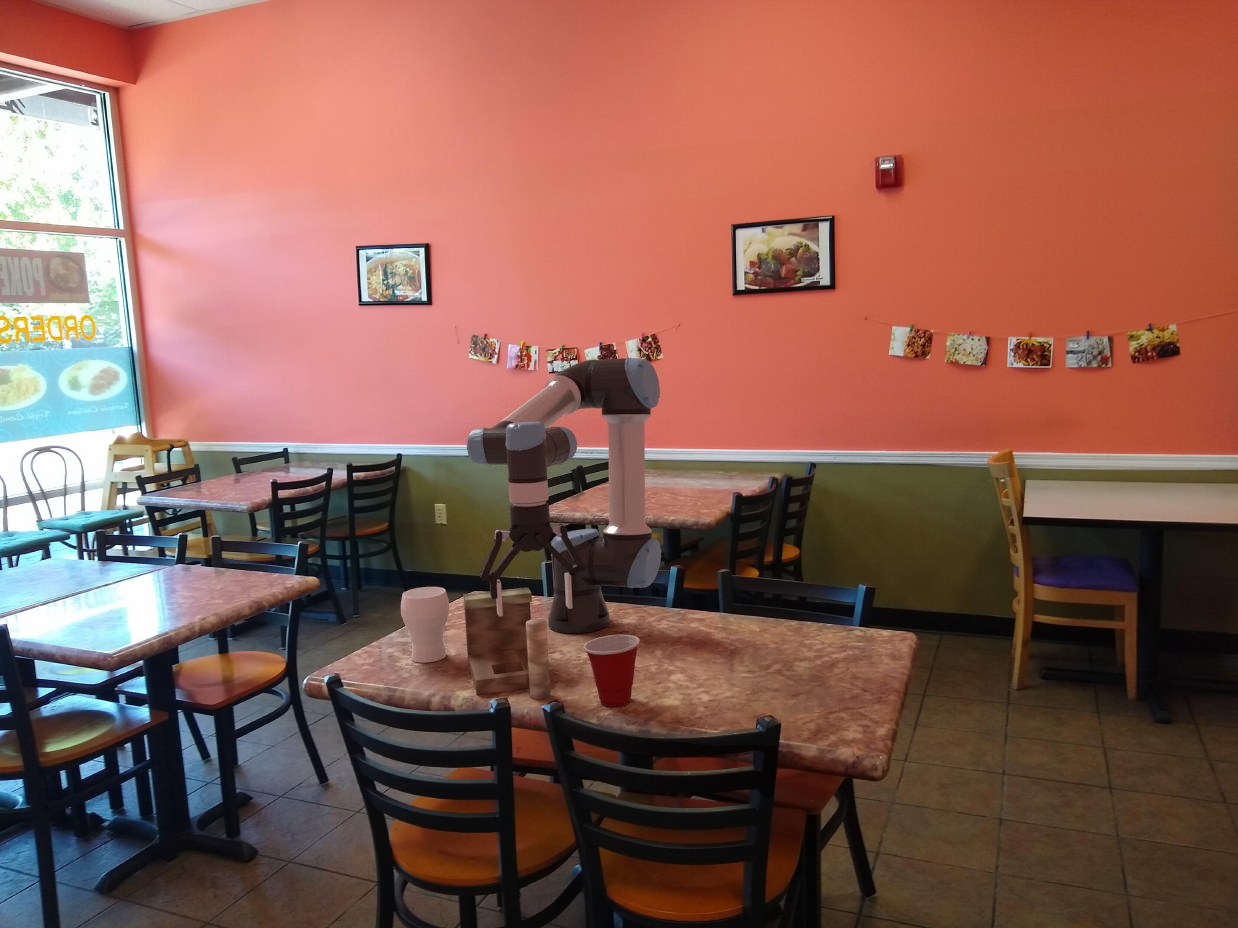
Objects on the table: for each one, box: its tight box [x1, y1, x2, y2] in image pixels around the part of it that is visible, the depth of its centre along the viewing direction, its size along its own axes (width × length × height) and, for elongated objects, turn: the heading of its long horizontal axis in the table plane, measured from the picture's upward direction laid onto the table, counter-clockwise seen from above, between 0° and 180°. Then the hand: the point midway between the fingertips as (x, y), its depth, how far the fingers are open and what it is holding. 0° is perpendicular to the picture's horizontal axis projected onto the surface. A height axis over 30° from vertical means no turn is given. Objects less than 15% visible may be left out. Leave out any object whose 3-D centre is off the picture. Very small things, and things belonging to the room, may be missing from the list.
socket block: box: [463, 587, 533, 696], centre depth 193 cm, size 14×18×16 cm
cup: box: [400, 586, 450, 664], centre depth 206 cm, size 11×11×15 cm
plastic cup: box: [582, 634, 640, 708], centre depth 176 cm, size 11×11×12 cm
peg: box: [526, 618, 551, 701], centre depth 180 cm, size 4×4×15 cm
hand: (534, 610), depth 179 cm, fingers open, 13 cm apart
